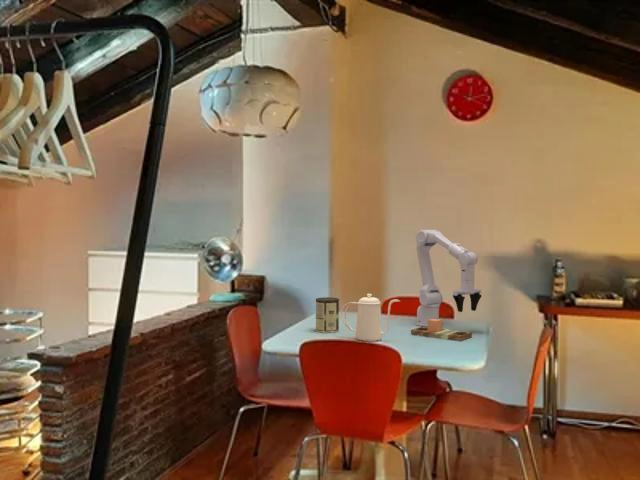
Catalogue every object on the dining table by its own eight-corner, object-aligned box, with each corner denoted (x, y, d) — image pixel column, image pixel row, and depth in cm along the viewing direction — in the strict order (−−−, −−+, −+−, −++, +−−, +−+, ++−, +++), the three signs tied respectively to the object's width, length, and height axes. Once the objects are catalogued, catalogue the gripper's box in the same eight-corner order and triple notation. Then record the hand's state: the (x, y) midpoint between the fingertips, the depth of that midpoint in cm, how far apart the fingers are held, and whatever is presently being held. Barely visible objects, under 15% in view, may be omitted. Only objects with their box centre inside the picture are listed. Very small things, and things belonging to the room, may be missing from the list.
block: (427, 330, 300) (427, 320, 300) (432, 329, 304) (432, 318, 303) (437, 331, 297) (437, 321, 297) (441, 330, 301) (442, 319, 301)
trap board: (410, 334, 301) (410, 330, 301) (422, 331, 310) (422, 326, 310) (460, 341, 288) (461, 336, 288) (471, 337, 297) (471, 332, 297)
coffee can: (326, 327, 316) (326, 296, 315) (343, 330, 309) (344, 298, 308) (310, 330, 308) (310, 298, 308) (327, 333, 301) (328, 301, 301)
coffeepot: (396, 344, 281) (397, 297, 280) (337, 339, 289) (337, 293, 288) (402, 339, 291) (403, 293, 290) (344, 334, 299) (345, 290, 298)
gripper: (460, 281, 299) (460, 313, 299) (486, 280, 306) (485, 311, 307) (450, 280, 305) (449, 311, 305) (475, 278, 312) (474, 308, 313)
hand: (466, 311), depth 306 cm, fingers open, 7 cm apart
